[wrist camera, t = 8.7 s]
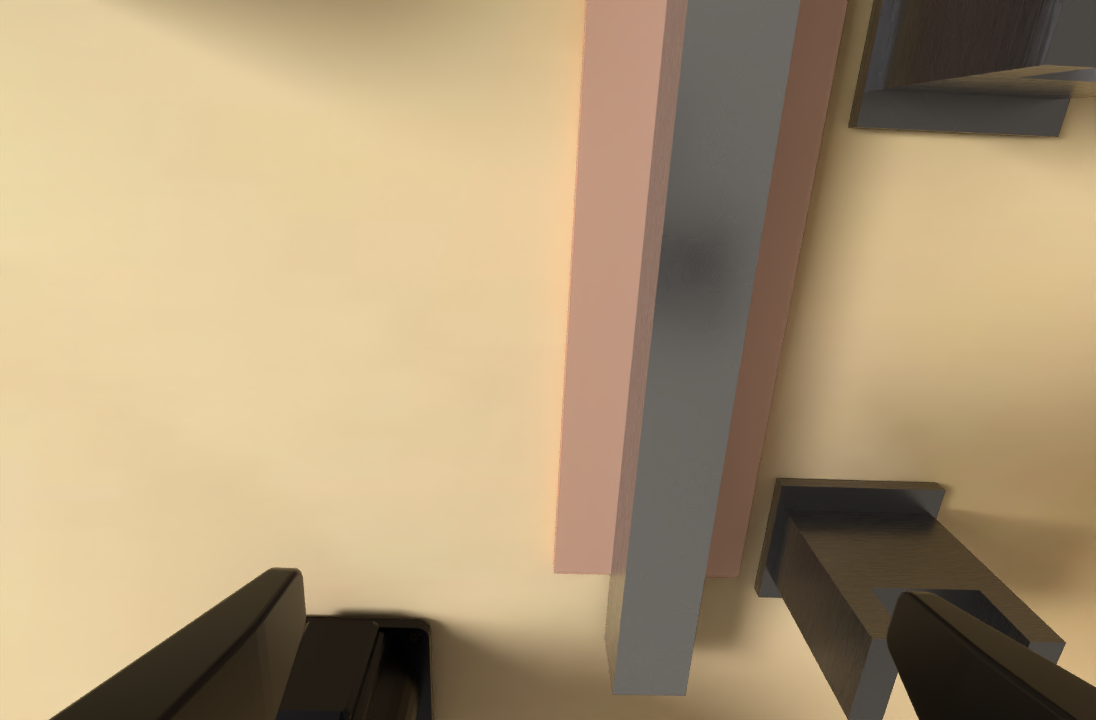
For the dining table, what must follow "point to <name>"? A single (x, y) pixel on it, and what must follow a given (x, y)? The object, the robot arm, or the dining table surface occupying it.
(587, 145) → the mat
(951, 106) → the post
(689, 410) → the rail
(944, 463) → the dining table surface
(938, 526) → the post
